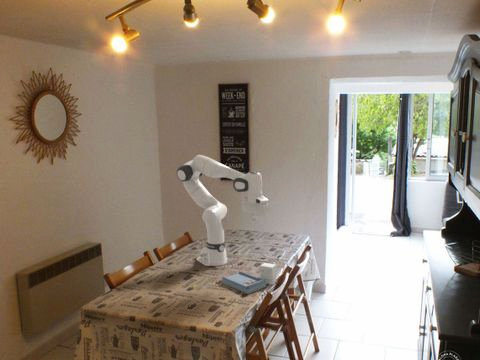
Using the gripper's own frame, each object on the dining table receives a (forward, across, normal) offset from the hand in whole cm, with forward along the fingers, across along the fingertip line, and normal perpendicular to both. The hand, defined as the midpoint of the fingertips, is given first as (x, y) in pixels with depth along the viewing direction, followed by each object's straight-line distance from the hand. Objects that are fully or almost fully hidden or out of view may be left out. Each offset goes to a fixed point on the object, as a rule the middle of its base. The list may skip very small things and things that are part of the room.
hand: (255, 220), depth 254 cm
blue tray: (+34, +8, -16) cm, 38 cm away
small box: (+34, +14, -3) cm, 37 cm away
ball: (+32, +12, -16) cm, 38 cm away
